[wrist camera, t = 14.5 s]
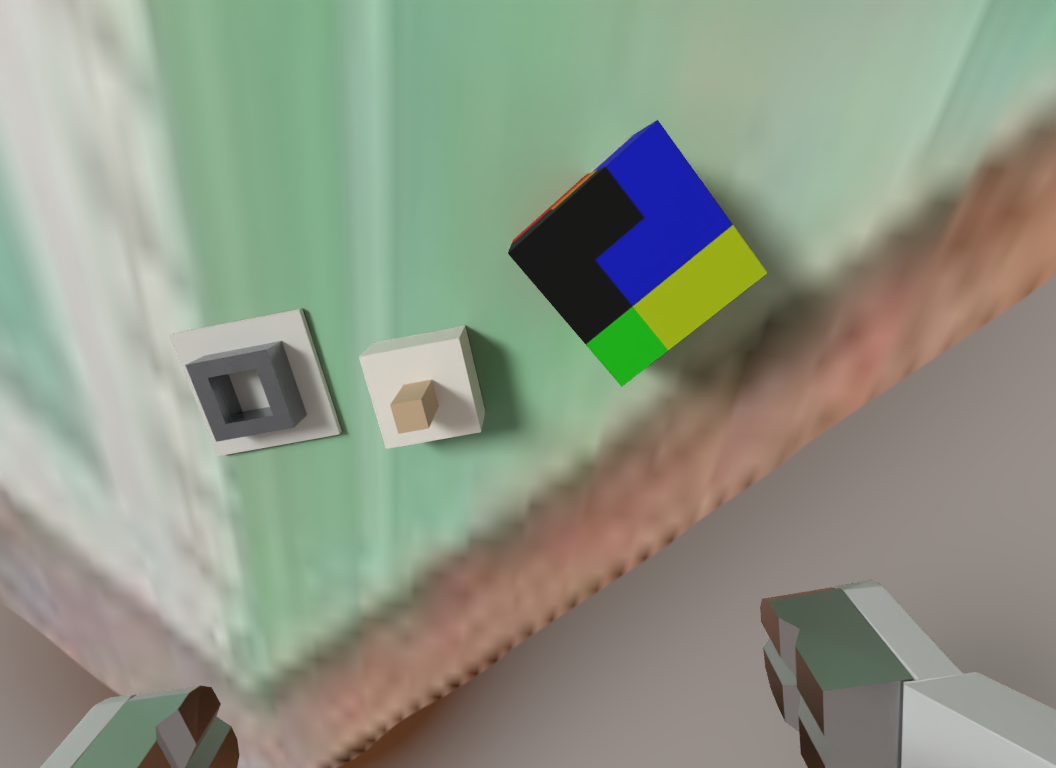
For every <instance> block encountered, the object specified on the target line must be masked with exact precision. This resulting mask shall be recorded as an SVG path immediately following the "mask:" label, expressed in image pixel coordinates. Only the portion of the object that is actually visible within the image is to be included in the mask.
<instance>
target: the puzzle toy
mask: <svg viewBox="0 0 1056 768" xmlns="http://www.w3.org/2000/svg"><path fill="white" fill-rule="evenodd" d="M508 254H509V255H510V256H511V258H512V259H513V260H514V261H515V262H516V263H517V265H518V266H519V267H520V268H521V269H522V270H523V272H524V273H525V274H526V275H527V276H528V277H529V279H530V280H531V281H532V282H533V283H534V284H535V286H536V287H537V288H538V289H539V290H540V291H541V293H542V294H543V295H544V296H545V297H546V298H547V300H548V301H549V302H550V303H551V304H552V306H553V307H554V308H555V309H556V310H557V311H558V313H559V314H560V315H561V316H562V317H563V318H564V320H565V321H566V322H567V323H568V324H569V325H570V327H571V328H572V329H573V330H574V331H575V332H576V334H577V335H578V336H579V337H580V338H581V339H582V341H583V342H584V343H585V344H586V345H587V347H588V348H589V349H590V350H591V351H592V352H593V354H594V355H595V356H596V357H597V358H598V359H599V361H600V362H601V363H602V364H603V365H604V366H605V368H606V369H607V370H608V371H609V372H610V373H611V375H612V376H613V377H614V378H615V379H616V380H617V382H618V383H619V384H620V385H621V386H623V385H625V384H626V383H627V382H628V381H630V380H631V379H632V378H634V377H635V376H636V375H637V374H639V373H640V372H641V371H643V370H644V369H645V368H646V367H648V366H649V365H650V364H652V363H653V362H654V361H655V360H657V359H658V358H659V357H660V356H662V355H663V354H664V353H666V352H667V351H668V350H669V349H671V348H672V347H673V346H675V345H676V344H677V343H678V342H680V341H681V340H682V339H684V338H685V337H686V336H687V335H689V334H690V333H691V332H693V331H694V330H695V329H696V328H698V327H699V326H700V325H701V324H703V323H704V322H705V321H707V320H708V319H709V318H710V317H712V316H713V315H714V314H716V313H717V312H718V311H719V310H721V309H722V308H723V307H725V306H726V305H727V304H728V303H730V302H731V301H732V300H734V299H735V298H736V297H737V296H739V295H740V294H741V293H743V292H744V291H745V290H746V289H748V288H749V287H750V286H751V285H753V284H754V283H755V282H757V281H758V280H759V279H760V278H762V277H763V276H764V275H766V274H767V272H766V270H765V269H764V267H763V266H762V265H761V263H760V262H759V260H758V259H757V258H756V256H755V255H754V253H753V252H752V251H751V249H750V248H749V246H748V245H747V244H746V242H745V241H744V240H743V238H742V237H741V235H740V234H739V233H738V231H737V230H736V228H735V227H734V226H733V224H732V223H731V221H730V220H729V219H728V217H727V216H726V214H725V213H724V212H723V210H722V209H721V208H720V206H719V205H718V203H717V202H716V201H715V199H714V198H713V196H712V195H711V194H710V192H709V191H708V189H707V188H706V187H705V185H704V184H703V182H702V181H701V180H700V178H699V177H698V175H697V174H696V173H695V171H694V170H693V169H692V167H691V166H690V164H689V163H688V162H687V160H686V159H685V157H684V156H683V155H682V153H681V152H680V150H679V149H678V148H677V146H676V145H675V143H674V142H673V141H672V139H671V138H670V136H669V135H668V134H667V132H666V131H665V130H664V128H663V127H662V125H661V124H660V123H659V121H658V120H657V121H655V122H653V123H652V124H650V125H649V126H647V127H645V128H644V129H642V130H640V131H639V132H637V133H636V134H634V135H632V136H631V137H629V138H627V139H626V140H625V141H623V142H622V143H621V144H620V145H619V146H618V147H617V148H616V149H614V150H613V151H612V152H611V153H610V154H609V155H608V156H607V157H606V158H604V159H603V160H602V161H601V162H600V163H599V164H598V165H597V166H595V167H594V168H593V169H592V170H591V171H590V172H589V173H588V174H587V175H585V176H584V177H583V178H582V179H581V180H580V181H579V182H578V183H576V184H575V185H574V186H573V187H572V188H571V189H570V190H569V191H568V192H566V193H565V194H564V195H563V196H562V197H561V198H560V199H559V200H557V201H556V202H555V203H554V204H553V205H552V206H551V207H550V208H549V209H547V210H546V211H545V212H544V213H543V214H542V215H541V216H540V217H539V218H537V219H536V220H535V221H534V222H533V223H532V224H531V225H530V226H528V227H527V228H526V229H525V230H524V231H523V232H522V233H521V234H520V235H518V236H517V237H516V238H515V239H514V240H513V242H512V244H511V247H510V249H509V252H508Z"/></svg>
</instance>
